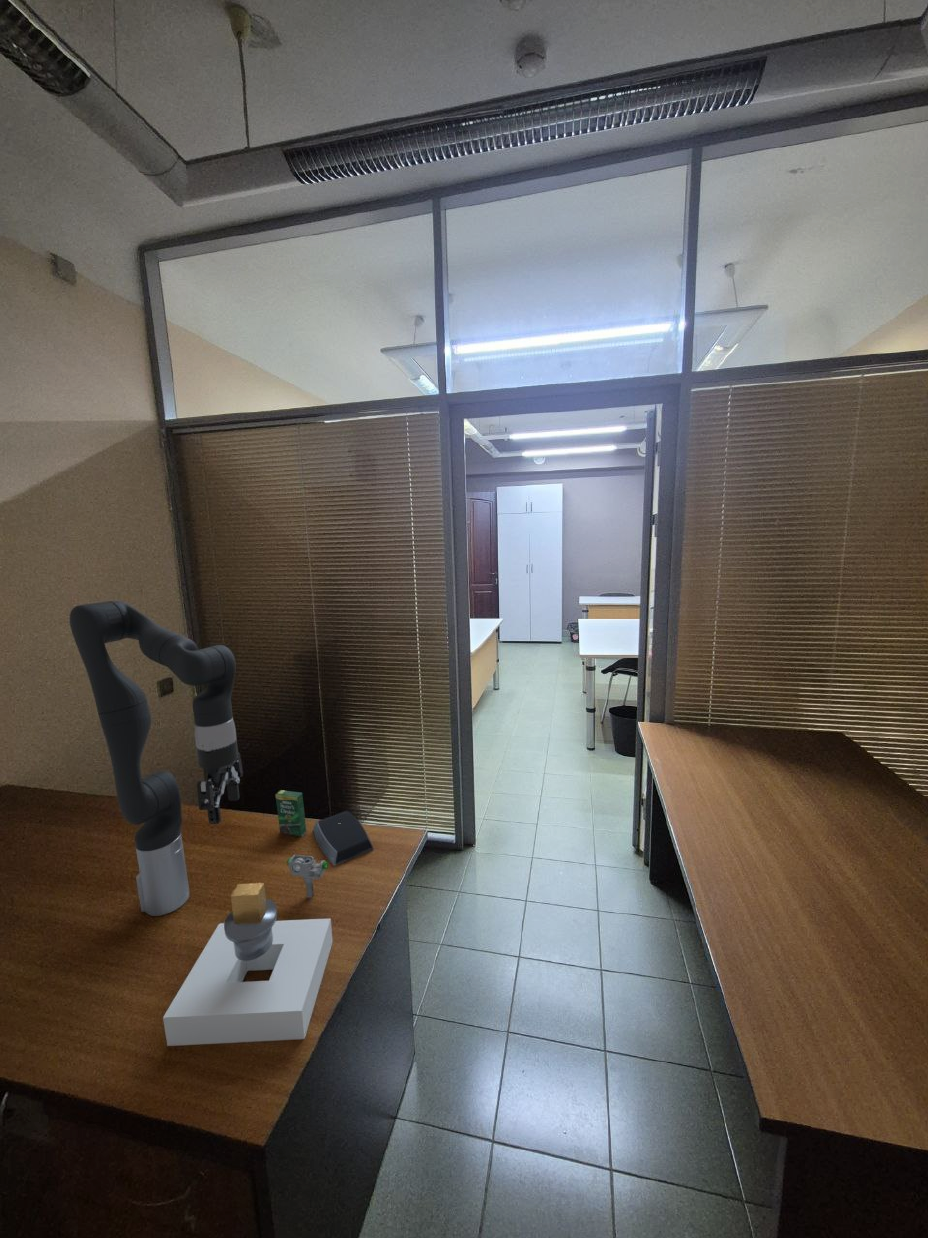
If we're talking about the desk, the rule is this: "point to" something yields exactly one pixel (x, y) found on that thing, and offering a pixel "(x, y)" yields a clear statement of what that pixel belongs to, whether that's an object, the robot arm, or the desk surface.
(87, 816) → the desk surface
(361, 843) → the external hard drive
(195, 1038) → the housing
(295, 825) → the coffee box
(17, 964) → the desk surface
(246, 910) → the end cap
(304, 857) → the mechanical component
